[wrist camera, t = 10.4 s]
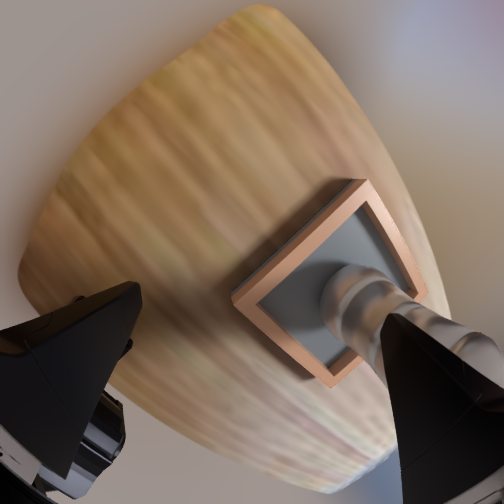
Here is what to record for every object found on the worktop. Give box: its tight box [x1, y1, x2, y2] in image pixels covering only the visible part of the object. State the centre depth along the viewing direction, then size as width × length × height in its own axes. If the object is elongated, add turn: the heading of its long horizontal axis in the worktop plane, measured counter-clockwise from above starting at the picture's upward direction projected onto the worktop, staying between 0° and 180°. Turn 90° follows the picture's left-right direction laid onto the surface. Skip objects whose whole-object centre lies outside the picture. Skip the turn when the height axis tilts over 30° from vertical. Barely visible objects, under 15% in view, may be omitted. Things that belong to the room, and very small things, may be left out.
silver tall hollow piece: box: [320, 264, 504, 389], centre depth 14 cm, size 6×7×20 cm
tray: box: [230, 179, 429, 389], centre depth 23 cm, size 14×14×2 cm
